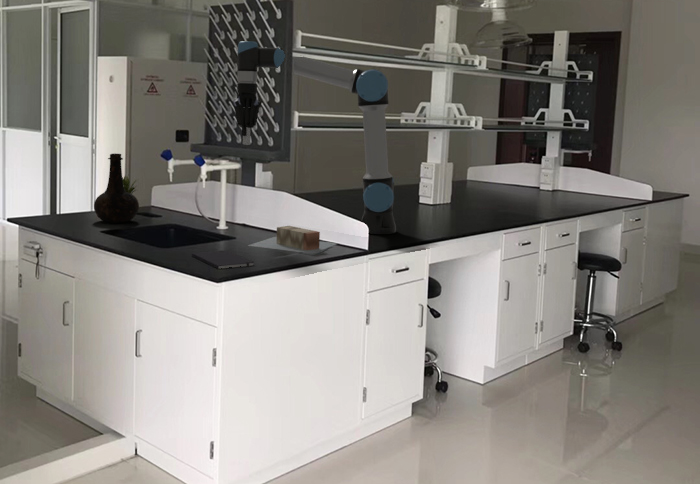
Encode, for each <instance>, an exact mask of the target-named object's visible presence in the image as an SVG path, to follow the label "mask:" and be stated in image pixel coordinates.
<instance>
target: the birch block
mask: <svg viewBox="0 0 700 484" xmlns="http://www.w3.org/2000/svg"><path fill="white" fill-rule="evenodd" d="M320 235H321V232H320V231H318V230H311V229H309V228H308V229H307V228H303V227H302V228H301V227H299V226H298V227H297V226H292V225H285V226H284V225H283V226H277V227H276V236H277V244H281V245H285V246H290V247H294V248H299V249H303V250H313V249H319V241H321V239H320Z"/></svg>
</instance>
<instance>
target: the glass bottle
mask: <svg viewBox="0 0 700 484" xmlns="http://www.w3.org/2000/svg"><path fill="white" fill-rule="evenodd" d="M107 160H109V172H108V181H107V185H106V189H105V191H104V192H103V193H101V194H99V195H98V196H97V197H96V198H95V200H94V203H93V209H94V213H95V214H96V216H97V217H98V218H99V219H100V221H103V222H104V223H108V224H121V223H122V224H124V223H128V222H131V220H133V219H134V218H135V217H136V215H137V214H138V211H139V209H140V207H139V206H140V204H139V200H138V199H137V197H136V196H135V195H134V194H133V193H132V194H130V193H127V192H126V191H125V189H124V186H123V180H124V179H123V180H122V177H123V173H122V170H123V169H122V160H124V158H123V157H122V154H121V153H110V154H109V157H108V158H107Z"/></svg>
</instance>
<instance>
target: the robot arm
mask: <svg viewBox="0 0 700 484" xmlns="http://www.w3.org/2000/svg"><path fill="white" fill-rule="evenodd" d="M258 45H259V44H258V43H257V41H247V40H246V41H245V40H244V41H243V40H242V41H239V42H238V45H237V53H236V54H237V74H236V75H237V79H236V80H237V82H238V83H237V85H236V87H237V88H236V91H237V98H236V99H235V100H232V101H231V102H232V106H233V108H234V113H235V118H236V124H237V126H239V127H240V128H241V136H242V145H246V146H248V145H249V146H250V145H251V137H252V132H253V131H252V129H253V128H254V127H256V126H257V121H258V116H259V111H260V108H261V105H262V101H259V100H258V99H257V96H256V94H257V92H258V84H257V82H258V68H264V69H265V68H267V69H268V68H269V69H274V68H278V67H279V66H280V65H281V64H282V62H283V61H284V58H285V54H284V51H283V50H281V49H279V48H280V47H261V46H258ZM293 75H296V76H297V75H298V76H301V77H305V78H307V79H311V80H316V81H318V82H322V83H325V84H329V85H332V86H335V87H336V86H337V87H340V88H343V89H347V90H349V92H350V93H352V94H355V95H357V106H358V108H359V109H360V110H361V111H362V122H363V138H364V156H365V157H364V159H365V174H364V176H363V177H362V186H363V187H362V189H363V194H362V201H363V203H364V206H363V207H364V209H363V210H364V211H363V214H362V217H361V220H360V222H364V223H365V224H367V225H368V227H369V230H370V234H371V235H393V234H395V233H396V232H397V226H396V223H395V218H394V214H393V211H394V210H393V209H394V202H395V201H394V200H395V194H394V190H395V189H394V188H395V179H394V177H393V174H391V173H390V172H389V161H388V145H387V144H388V143H387V126H386V125H387V124H386V109H387V107H388V106H389V82H388V79H387V77H386V75H385V74H384V73H383V72H382V71H381V70H378V69H373V68H372V69H366V70H363V69H361V68H360V69H359V68H356V69H349V68H346V67H342V66H340V65H339V66H338V65H335V64H331V63H328V62H325V61H321V60H318V59H315V58H314V59H313V58H310V57H306V56H303V57H295V58H294V74H293Z"/></svg>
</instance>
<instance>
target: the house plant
mask: <svg viewBox="0 0 700 484" xmlns="http://www.w3.org/2000/svg"><path fill="white" fill-rule="evenodd" d="M122 180H123V186H124V189H125V191H126V192H127V193H130V194H132V195H133V193H135V192H136V191H137V189H136V187H137V188H138V186H137V185H134V184H135V183H136V182H137V181H138V179H135V180H134V181H133V182H132V184H131V185H130V178H129V175H126V174H125V175H124V176H122Z"/></svg>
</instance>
